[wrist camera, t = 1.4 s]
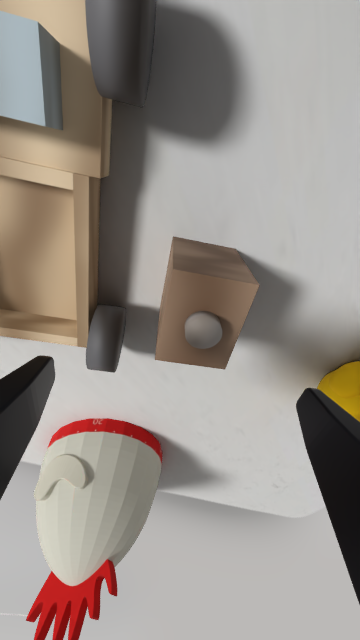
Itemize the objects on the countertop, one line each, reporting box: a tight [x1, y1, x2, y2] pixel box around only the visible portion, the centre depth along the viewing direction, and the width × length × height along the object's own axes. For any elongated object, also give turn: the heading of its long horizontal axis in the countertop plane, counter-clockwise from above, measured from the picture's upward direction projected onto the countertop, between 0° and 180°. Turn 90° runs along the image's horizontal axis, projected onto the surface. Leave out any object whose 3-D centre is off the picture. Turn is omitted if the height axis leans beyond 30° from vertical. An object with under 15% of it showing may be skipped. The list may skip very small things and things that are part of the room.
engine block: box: [155, 237, 259, 369], centre depth 16 cm, size 4×6×7 cm
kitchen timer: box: [26, 419, 162, 640], centre depth 25 cm, size 14×14×15 cm
